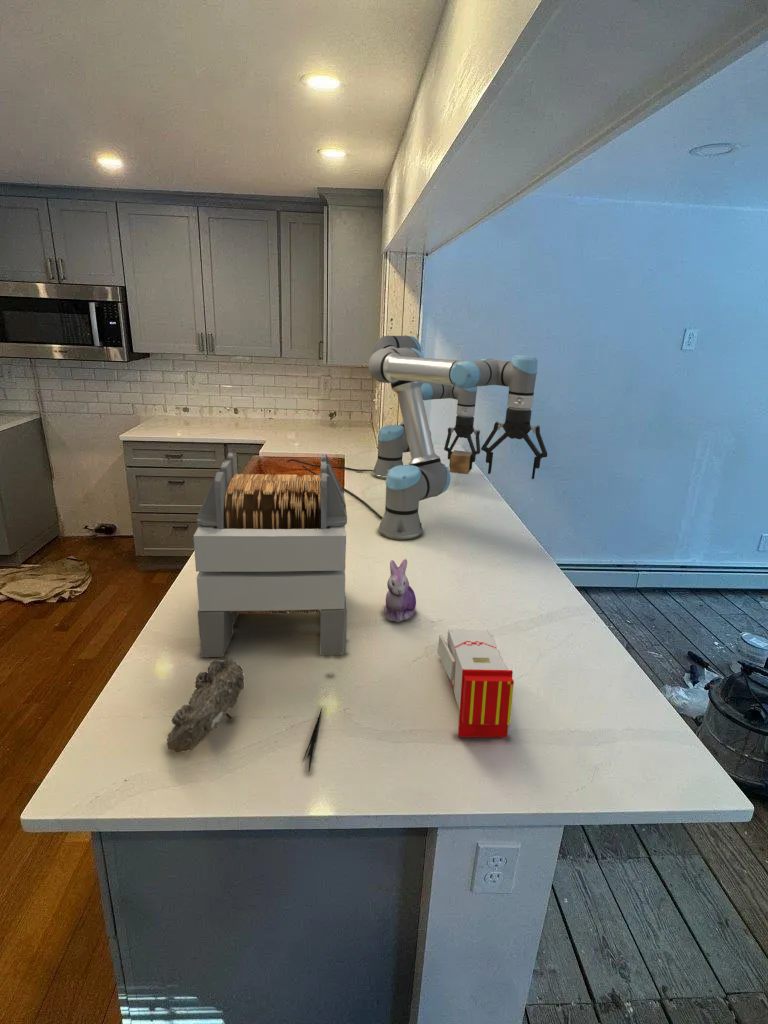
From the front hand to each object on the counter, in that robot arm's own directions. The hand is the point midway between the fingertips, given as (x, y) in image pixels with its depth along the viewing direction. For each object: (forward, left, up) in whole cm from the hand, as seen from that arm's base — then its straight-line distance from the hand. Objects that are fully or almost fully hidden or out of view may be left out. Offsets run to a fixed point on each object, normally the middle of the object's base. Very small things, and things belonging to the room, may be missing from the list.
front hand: (510, 475), depth 180 cm
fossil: (+17, -110, -26) cm, 114 cm away
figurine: (+10, -55, -26) cm, 62 cm away
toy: (+42, -65, -26) cm, 82 cm away
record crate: (-6, -81, -26) cm, 86 cm away
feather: (+30, -94, -26) cm, 102 cm away
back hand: (-54, +38, -16) cm, 68 cm away
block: (-54, +38, -17) cm, 68 cm away
